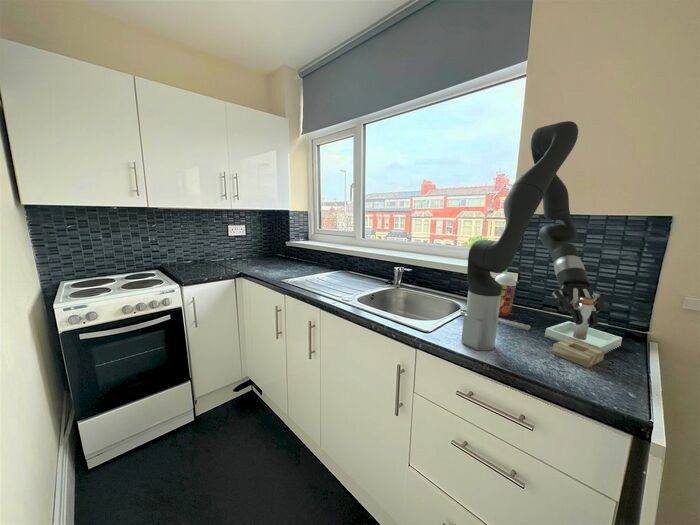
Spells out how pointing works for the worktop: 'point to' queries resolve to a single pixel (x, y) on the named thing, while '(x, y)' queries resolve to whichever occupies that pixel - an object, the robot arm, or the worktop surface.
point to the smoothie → (506, 293)
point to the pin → (583, 318)
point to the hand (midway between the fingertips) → (586, 324)
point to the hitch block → (578, 352)
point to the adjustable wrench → (506, 322)
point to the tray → (592, 339)
